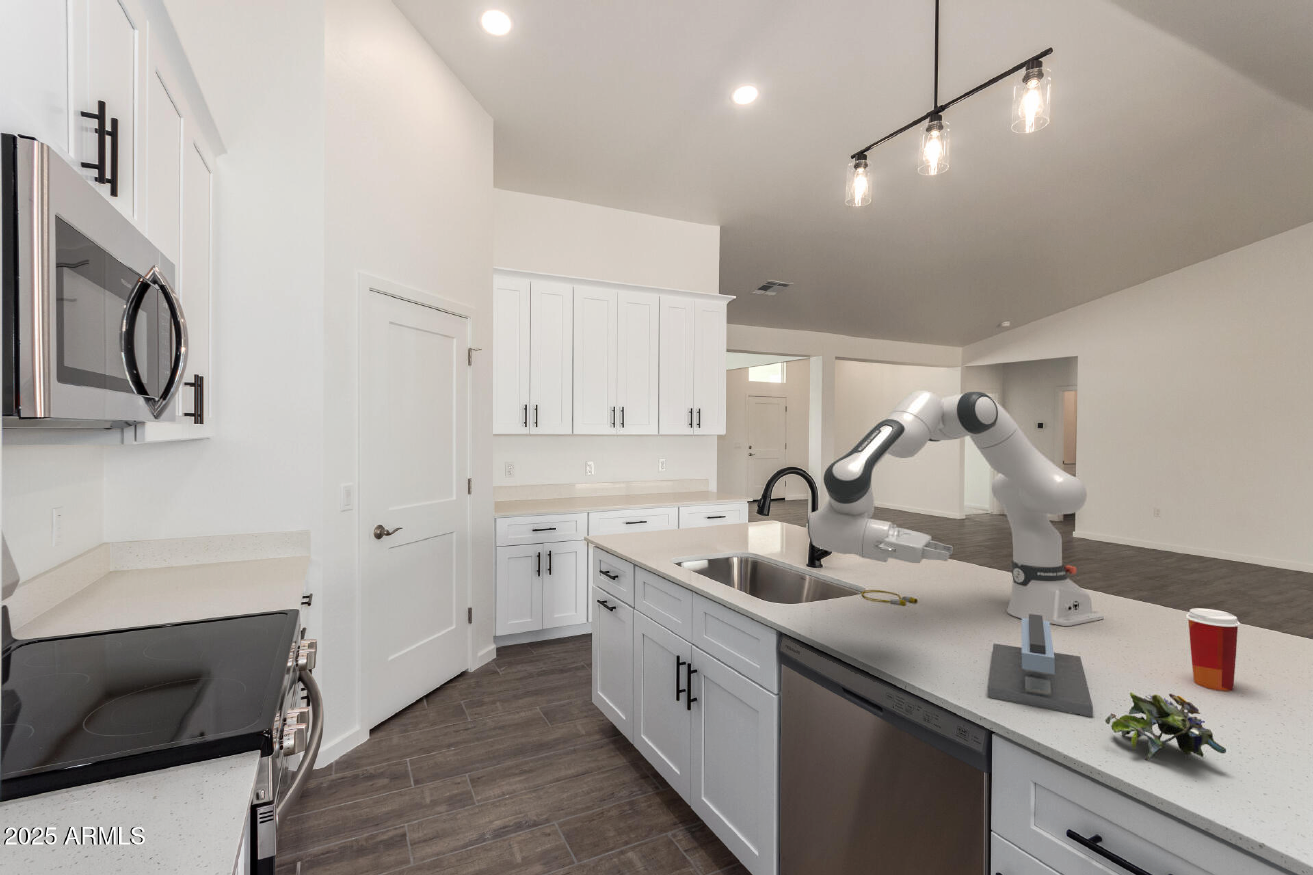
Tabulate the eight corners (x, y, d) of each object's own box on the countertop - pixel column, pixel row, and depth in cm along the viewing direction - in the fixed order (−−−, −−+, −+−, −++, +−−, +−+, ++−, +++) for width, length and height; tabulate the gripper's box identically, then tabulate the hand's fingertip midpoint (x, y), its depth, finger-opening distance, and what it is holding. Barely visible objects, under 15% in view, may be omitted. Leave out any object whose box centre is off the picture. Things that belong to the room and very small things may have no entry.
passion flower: (1184, 787, 92) (1247, 744, 86) (1141, 791, 88) (1205, 746, 82) (1122, 718, 101) (1176, 675, 95) (1081, 719, 97) (1135, 674, 91)
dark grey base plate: (993, 652, 133) (993, 638, 133) (1080, 665, 125) (1080, 650, 125) (987, 697, 111) (987, 680, 111) (1092, 717, 103) (1092, 699, 103)
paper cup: (1226, 679, 117) (1225, 609, 117) (1250, 695, 110) (1249, 621, 110) (1177, 674, 120) (1177, 605, 120) (1198, 690, 112) (1197, 617, 112)
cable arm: (1022, 642, 130) (1021, 607, 130) (1049, 646, 127) (1048, 611, 127) (1022, 685, 108) (1021, 643, 108) (1054, 690, 106) (1054, 648, 106)
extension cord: (883, 609, 168) (882, 602, 168) (853, 594, 183) (853, 588, 183) (921, 606, 170) (920, 599, 170) (889, 591, 186) (889, 585, 186)
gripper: (873, 531, 120) (948, 544, 113) (890, 522, 138) (955, 533, 131) (870, 562, 120) (944, 577, 113) (887, 549, 138) (952, 561, 131)
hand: (950, 553), depth 122 cm, fingers open, 8 cm apart
